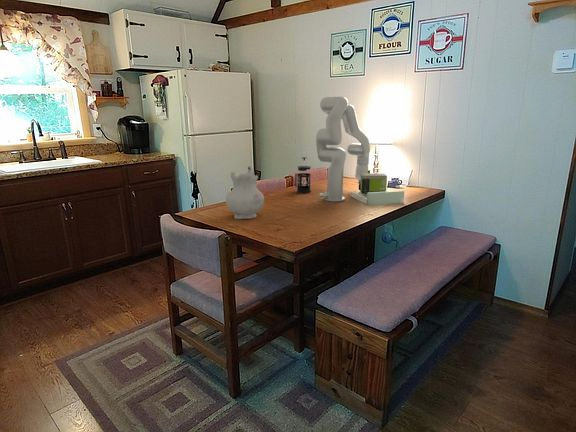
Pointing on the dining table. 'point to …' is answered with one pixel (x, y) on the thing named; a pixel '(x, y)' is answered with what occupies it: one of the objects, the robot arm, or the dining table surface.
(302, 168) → the french press
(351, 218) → the dining table surface
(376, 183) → the tea box
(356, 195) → the bay
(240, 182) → the ceramic pitcher
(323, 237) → the dining table surface
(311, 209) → the dining table surface
